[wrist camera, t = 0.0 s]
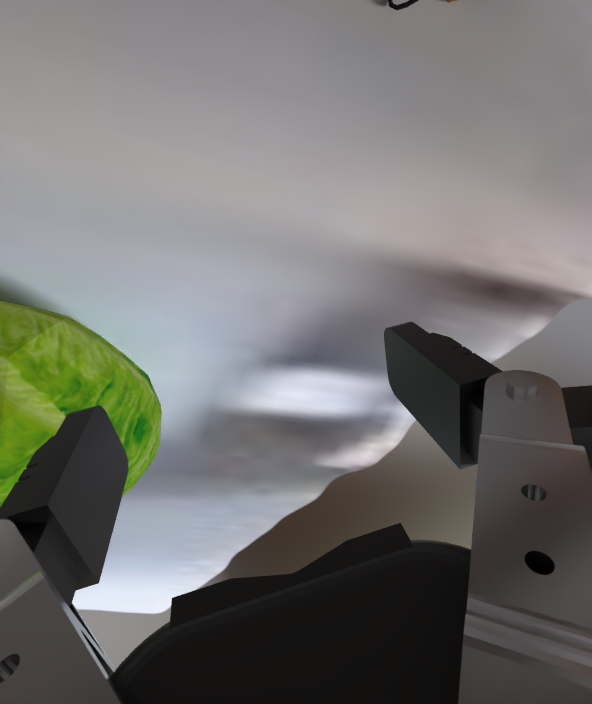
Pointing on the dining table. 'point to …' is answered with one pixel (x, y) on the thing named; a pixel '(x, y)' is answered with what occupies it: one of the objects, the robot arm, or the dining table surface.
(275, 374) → the dining table surface
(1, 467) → the lettuce
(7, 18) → the dining table surface
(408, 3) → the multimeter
